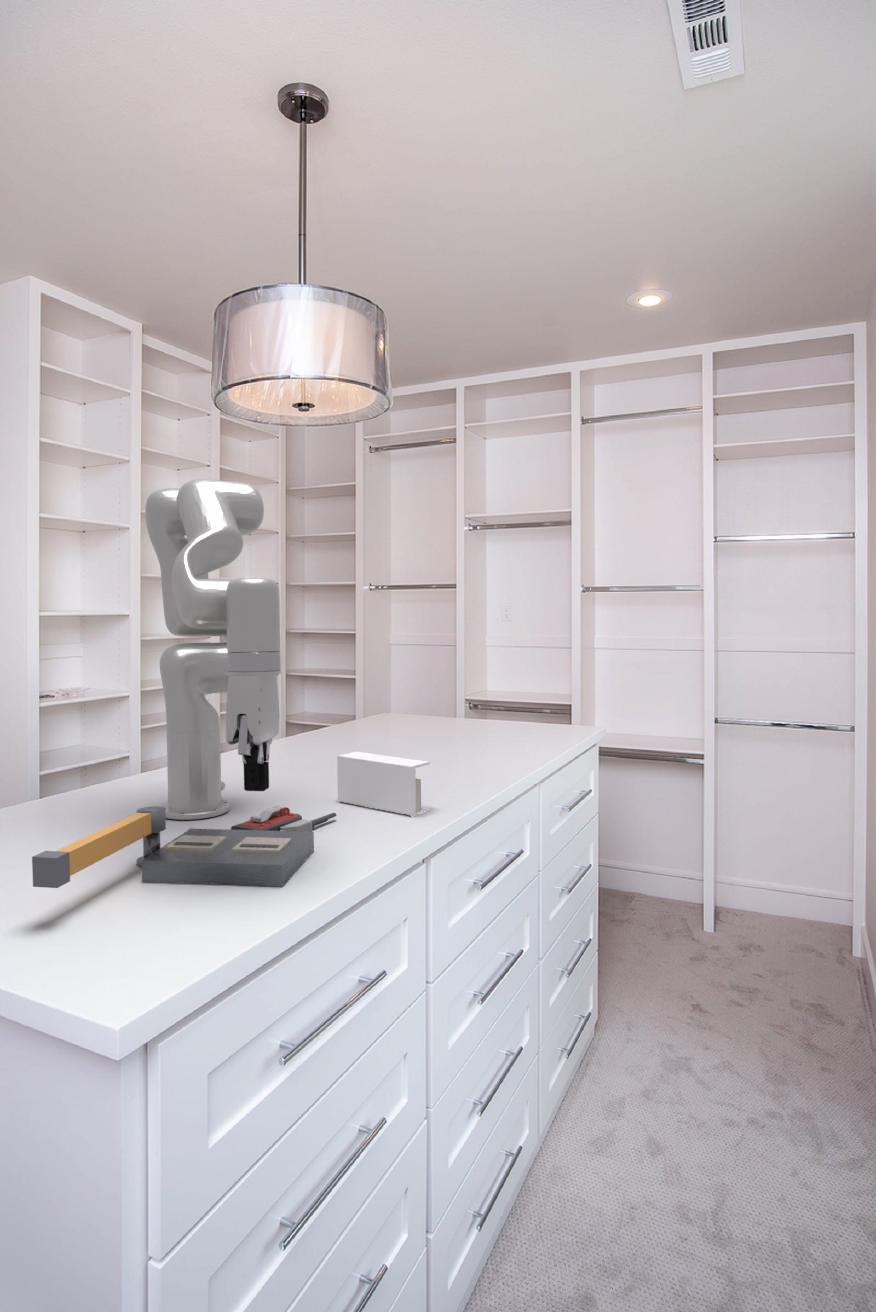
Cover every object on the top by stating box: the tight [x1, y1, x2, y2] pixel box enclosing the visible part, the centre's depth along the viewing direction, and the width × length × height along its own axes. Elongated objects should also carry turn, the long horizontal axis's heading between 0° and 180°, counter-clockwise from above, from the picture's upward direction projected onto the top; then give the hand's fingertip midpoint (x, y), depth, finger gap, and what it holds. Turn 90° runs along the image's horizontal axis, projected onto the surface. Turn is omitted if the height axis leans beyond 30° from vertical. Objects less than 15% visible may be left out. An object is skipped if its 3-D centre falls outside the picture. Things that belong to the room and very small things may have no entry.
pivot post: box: [135, 832, 161, 868], centre depth 115 cm, size 4×4×4 cm
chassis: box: [141, 827, 315, 888], centre depth 114 cm, size 16×20×4 cm
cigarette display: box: [336, 751, 430, 817], centre depth 148 cm, size 20×6×9 cm, turn 53°
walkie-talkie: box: [230, 805, 337, 832], centre depth 131 cm, size 9×4×20 cm
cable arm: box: [31, 805, 167, 889], centre depth 104 cm, size 26×4×4 cm, turn 170°
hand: (256, 789), depth 113 cm, fingers closed
